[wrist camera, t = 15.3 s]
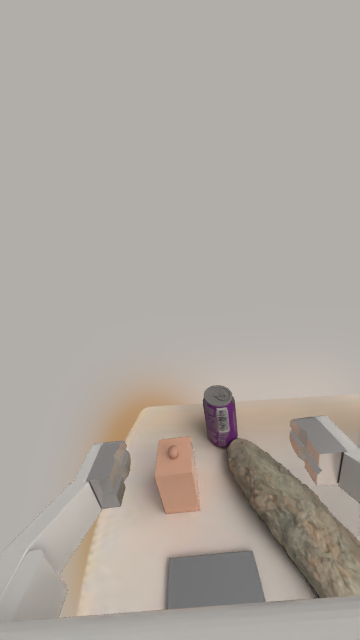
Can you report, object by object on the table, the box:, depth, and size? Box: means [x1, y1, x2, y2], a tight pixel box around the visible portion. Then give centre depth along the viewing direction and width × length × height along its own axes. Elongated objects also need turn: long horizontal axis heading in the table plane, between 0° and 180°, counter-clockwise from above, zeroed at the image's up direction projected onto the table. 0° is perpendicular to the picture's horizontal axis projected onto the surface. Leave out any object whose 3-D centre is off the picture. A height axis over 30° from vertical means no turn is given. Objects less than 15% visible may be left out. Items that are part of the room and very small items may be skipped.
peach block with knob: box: [155, 436, 200, 514], centre depth 31 cm, size 6×6×11 cm
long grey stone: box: [227, 438, 360, 598], centre depth 22 cm, size 35×5×10 cm
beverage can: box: [203, 386, 238, 447], centre depth 40 cm, size 7×7×12 cm
